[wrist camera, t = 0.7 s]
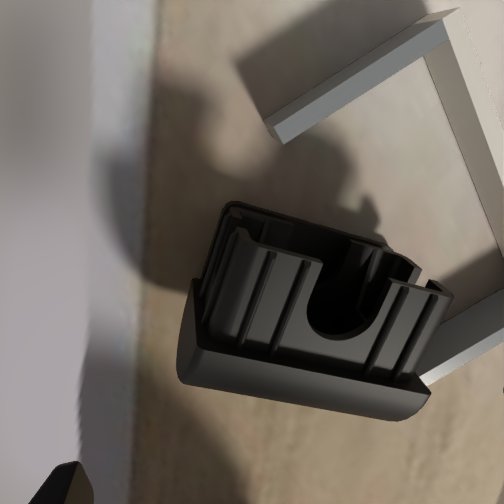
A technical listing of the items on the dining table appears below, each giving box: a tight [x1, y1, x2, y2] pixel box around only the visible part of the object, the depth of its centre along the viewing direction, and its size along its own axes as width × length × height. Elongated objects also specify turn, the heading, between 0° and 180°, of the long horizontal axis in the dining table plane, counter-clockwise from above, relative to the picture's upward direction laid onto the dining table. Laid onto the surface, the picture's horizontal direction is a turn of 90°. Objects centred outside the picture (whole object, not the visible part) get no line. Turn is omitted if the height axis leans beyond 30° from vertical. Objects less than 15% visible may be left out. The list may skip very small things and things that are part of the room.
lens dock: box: [263, 7, 504, 386], centre depth 22 cm, size 8×16×2 cm, turn 31°
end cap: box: [176, 201, 454, 422], centre depth 21 cm, size 10×7×7 cm
